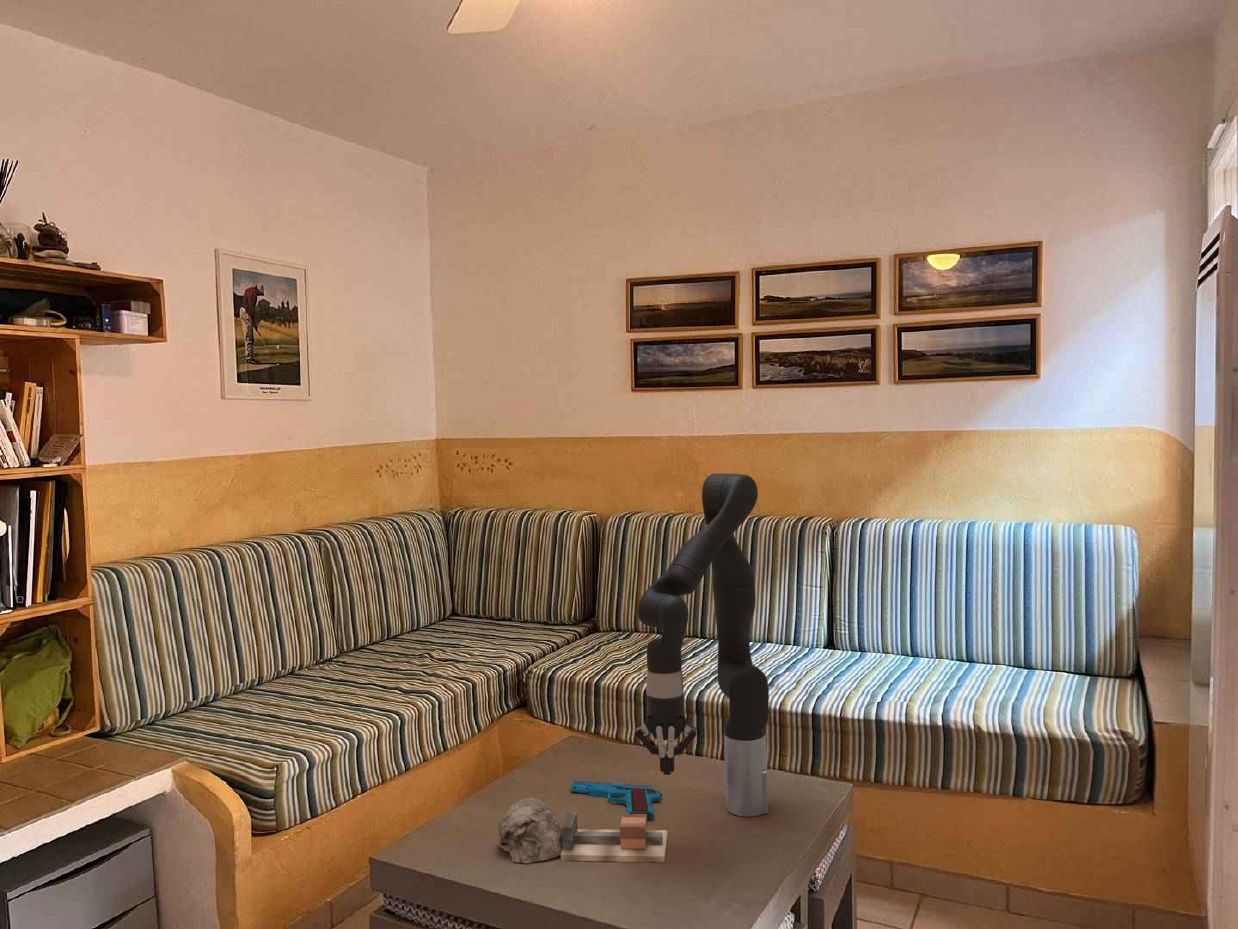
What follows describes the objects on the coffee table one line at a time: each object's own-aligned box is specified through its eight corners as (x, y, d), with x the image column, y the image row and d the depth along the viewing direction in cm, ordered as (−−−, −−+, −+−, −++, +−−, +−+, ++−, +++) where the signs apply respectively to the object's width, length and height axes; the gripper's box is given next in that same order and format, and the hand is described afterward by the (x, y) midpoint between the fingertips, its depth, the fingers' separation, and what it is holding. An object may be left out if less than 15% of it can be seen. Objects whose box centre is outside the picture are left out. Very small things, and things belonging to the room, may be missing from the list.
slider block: (647, 835, 197) (646, 814, 197) (645, 849, 192) (644, 827, 191) (623, 835, 198) (622, 813, 197) (620, 848, 192) (619, 826, 192)
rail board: (667, 836, 200) (666, 808, 199) (664, 862, 189) (663, 833, 188) (569, 834, 202) (568, 807, 201) (561, 860, 191) (559, 832, 191)
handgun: (652, 825, 206) (668, 795, 220) (651, 813, 205) (667, 783, 220) (554, 818, 212) (575, 789, 226) (553, 806, 212) (575, 777, 226)
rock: (576, 844, 198) (574, 798, 197) (545, 871, 187) (542, 823, 186) (517, 831, 205) (515, 786, 204) (484, 856, 194) (481, 809, 194)
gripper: (698, 685, 194) (700, 766, 196) (634, 684, 196) (636, 765, 197) (697, 697, 187) (699, 781, 188) (630, 696, 188) (633, 780, 190)
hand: (667, 773), depth 193 cm, fingers closed
